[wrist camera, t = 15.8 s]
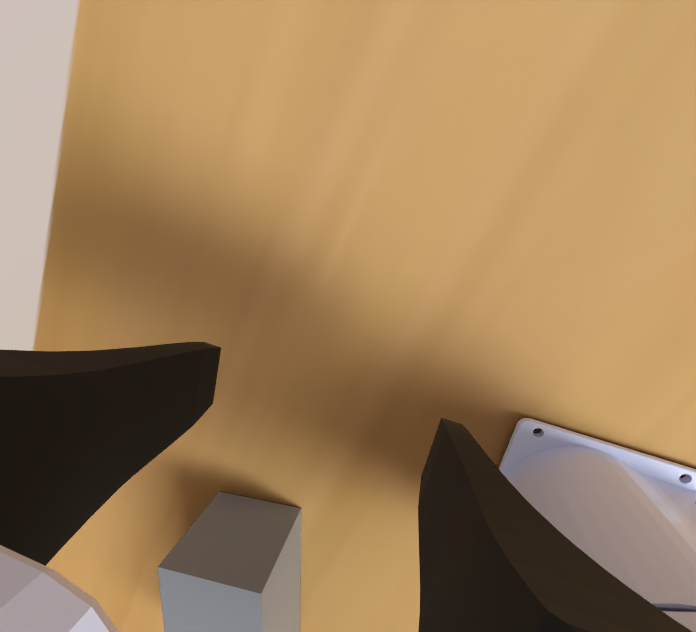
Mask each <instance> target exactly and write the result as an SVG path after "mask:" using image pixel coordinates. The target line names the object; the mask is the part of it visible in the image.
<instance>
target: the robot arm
mask: <svg viewBox="0 0 696 632" xmlns="http://www.w3.org/2000/svg"><path fill="white" fill-rule="evenodd" d="M220 351H221V348H220V347H217V346H214V345H211V344H208V343H205V342H186V343H174V344H164V345H155V346H145V347H135V348H122V349H110V350H96V351H60V352H46V351H18V350H0V632H119V631H118V630H117V628H116V627H115V625H114V624H113V623H112V621H111V620H110V618H109V617H108V615H107V614H106V613H105V611H104V610H103V608H102V607H101V606H100V604H99V603H98V601H97V600H96V599H94V598H93V597H91V596H90V595H89V594H87V593H86V592H84V591H83V590H82V589H80V588H79V587H77V586H76V585H75V584H73V583H72V582H70V581H69V580H68V579H66V578H65V577H63V576H62V575H60V574H59V573H58V572H56V571H55V570H53V569H51V568H49V567H46V565H47V563H48V562H49V561H50V560H51V559H52V558H53V557H54V556H55V554H56V553H57V552H58V551H59V550H60V549H61V548H62V547H63V546H64V545H65V544H66V543H67V541H68V540H69V539H70V538H71V537H72V536H73V535H74V534H75V533H76V532H77V531H78V530H79V529H80V528H81V527H82V526H83V525H84V523H85V522H86V521H87V520H88V519H89V518H90V517H91V516H92V515H93V514H94V513H95V512H96V511H97V510H98V509H99V508H100V507H101V506H102V505H103V504H104V503H105V502H106V501H107V500H108V499H109V498H110V497H111V496H112V495H113V494H114V493H115V492H116V491H117V490H118V489H119V488H120V487H121V486H122V485H123V484H124V483H126V482H127V481H128V480H129V479H130V478H131V477H132V476H133V475H135V474H136V473H137V472H138V471H139V470H141V469H142V468H143V467H144V466H145V465H147V464H148V463H149V462H150V461H151V460H153V459H154V458H155V457H156V456H157V455H159V454H160V453H161V452H162V451H163V450H165V449H166V448H167V447H168V446H170V445H171V444H172V443H173V442H174V441H175V440H177V439H178V438H179V437H180V436H181V435H183V434H184V433H185V432H186V431H187V430H188V429H190V428H191V427H192V426H193V425H194V424H195V423H196V422H197V421H198V420H199V418H200V417H201V416H202V415H203V414H204V413H205V412H206V411H207V409H208V408H209V407H210V406H211V405H212V404H213V399H214V392H215V385H216V378H217V371H218V365H219V358H220ZM537 428H540V429H541V431H540V433H533V431H534V429H537ZM683 474H686V476H685V477H684V478H679V477H680V476H681V475H683ZM418 520H419V558H420V618H419V632H696V469H693V468H690V467H687V466H684V465H680V464H677V463H674V462H671V461H667V460H664V459H661V458H658V457H654V456H651V455H648V454H645V453H641V452H638V451H635V450H632V449H628V448H625V447H622V446H619V445H615V444H612V443H609V442H606V441H602V440H599V439H596V438H593V437H589V436H586V435H583V434H579V433H576V432H573V431H570V430H566V429H563V428H560V427H557V426H553V425H550V424H547V423H544V422H540V421H537V420H534V419H531V418H523V419H521V420H519V421H518V423H517V425H516V427H515V430H514V432H513V434H512V437H511V439H510V442H509V444H508V447H507V449H506V452H505V454H504V456H503V459H502V461H501V464H500V466H499V469H498V468H497V466H496V465H495V464H494V463H493V462H492V460H491V459H490V458H489V457H488V455H487V454H486V453H485V452H484V450H483V449H482V448H481V447H480V445H479V444H478V443H477V442H476V440H475V439H474V438H473V436H472V435H471V434H470V433H469V431H468V430H467V429H466V428H465V427H464V426H463V425H462V424H459V423H456V422H452V421H449V420H446V419H443V418H441V420H440V423H439V426H438V429H437V432H436V435H435V438H434V441H433V444H432V447H431V450H430V453H429V456H428V458H427V461H426V464H425V467H424V470H423V473H422V477H421V486H420V495H419V505H418Z"/></svg>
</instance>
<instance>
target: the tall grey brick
mask: <svg viewBox="0 0 696 632" xmlns="http://www.w3.org/2000/svg"><path fill="white" fill-rule="evenodd" d="M158 574H159V583H160V593H161V603H162V613H163V623H164V632H300V582H301V508H298V507H293V506H288V505H283V504H278V503H273V502H268V501H263V500H258V499H254V498H249V497H244V496H239V495H234V494H229V493H224V492H219V493H218V494H217V495H216V496H215V498H214V499H213V500H212V501H211V503H210V504H209V505H208V506H207V507H206V509H205V510H204V511H203V512H202V514H201V515H200V516H199V517H198V518H197V520H196V521H195V522H194V523H193V525H192V526H191V527H190V528H189V529H188V531H187V532H186V533H185V534H184V536H183V537H182V538H181V539H180V540H179V542H178V543H177V544H176V545H175V547H174V548H173V549H172V550H171V551H170V553H169V554H168V555H167V556H166V558H165V559H164V560H163V561H162V563H161V564H160V565H159V566H158Z"/></svg>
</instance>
